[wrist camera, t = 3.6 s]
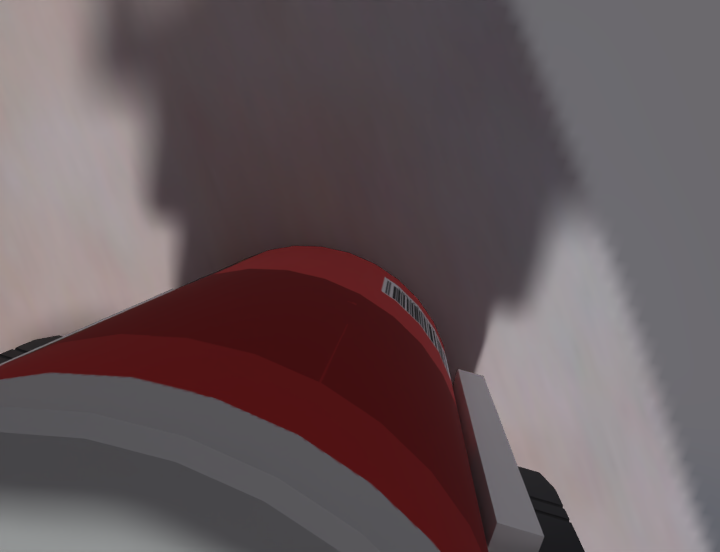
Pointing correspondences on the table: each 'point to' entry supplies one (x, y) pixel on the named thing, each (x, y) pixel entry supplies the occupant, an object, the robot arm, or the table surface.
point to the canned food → (242, 421)
